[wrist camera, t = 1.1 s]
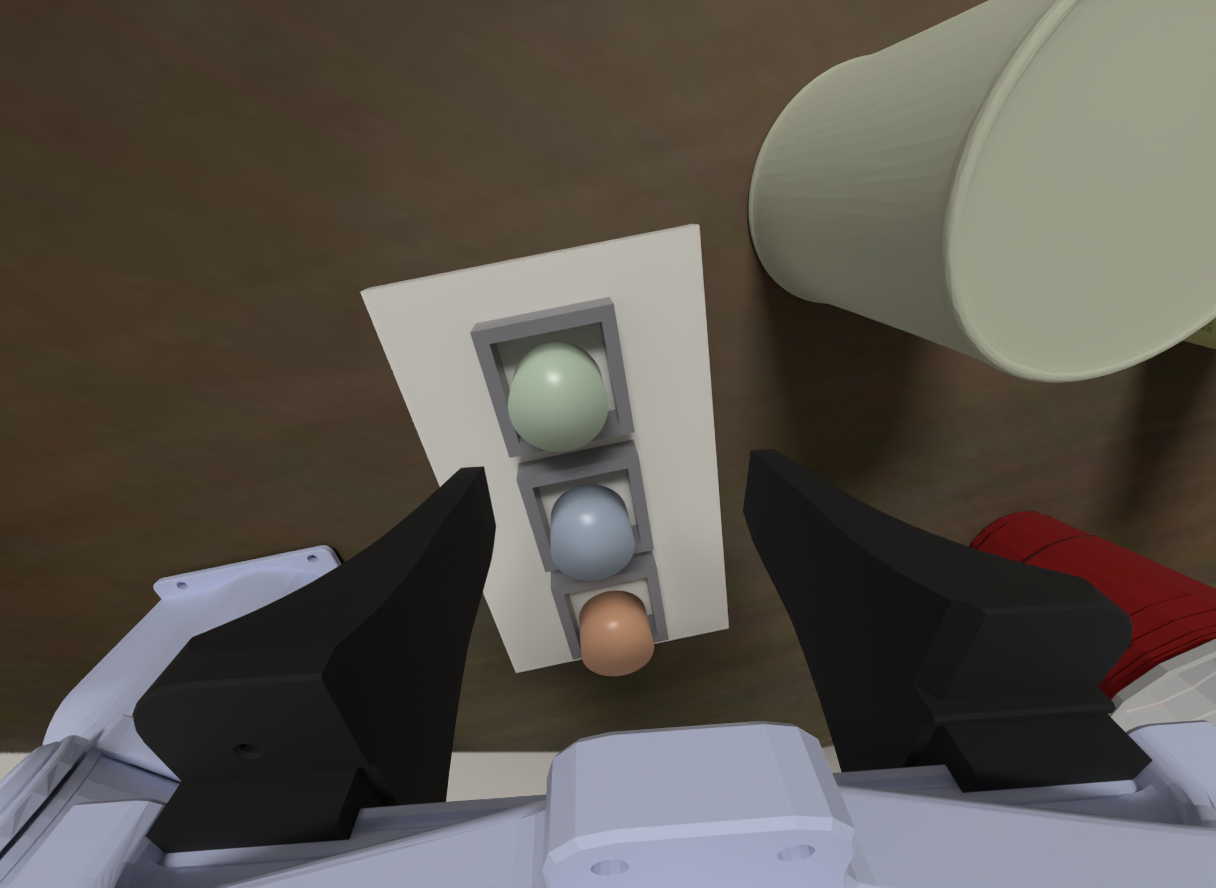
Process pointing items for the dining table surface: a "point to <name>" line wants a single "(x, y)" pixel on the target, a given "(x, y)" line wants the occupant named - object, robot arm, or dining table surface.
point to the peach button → (615, 633)
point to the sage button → (557, 397)
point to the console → (616, 458)
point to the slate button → (590, 533)
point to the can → (1009, 184)
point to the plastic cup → (1157, 605)
